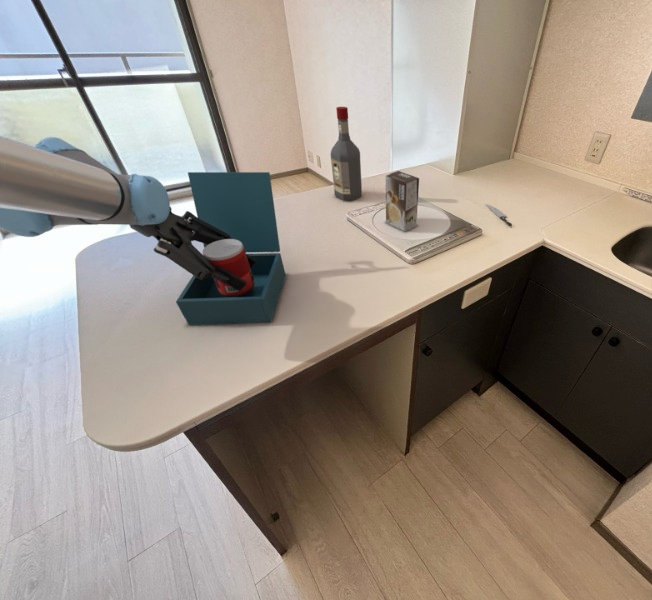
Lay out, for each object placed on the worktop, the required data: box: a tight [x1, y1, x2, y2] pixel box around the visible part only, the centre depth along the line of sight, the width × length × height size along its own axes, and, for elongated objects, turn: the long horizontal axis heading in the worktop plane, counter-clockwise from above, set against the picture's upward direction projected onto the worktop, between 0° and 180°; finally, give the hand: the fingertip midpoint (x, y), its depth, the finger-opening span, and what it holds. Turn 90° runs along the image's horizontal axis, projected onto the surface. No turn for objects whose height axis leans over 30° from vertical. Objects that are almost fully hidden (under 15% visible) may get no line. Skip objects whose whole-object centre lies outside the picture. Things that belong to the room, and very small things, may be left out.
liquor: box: [330, 106, 363, 202], centre depth 116 cm, size 9×9×30 cm
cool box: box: [175, 252, 287, 326], centre depth 77 cm, size 18×18×7 cm
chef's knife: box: [485, 203, 513, 227], centre depth 117 cm, size 19×1×3 cm
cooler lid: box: [187, 171, 281, 254], centre depth 79 cm, size 19×18×5 cm
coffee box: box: [385, 170, 420, 232], centre depth 105 cm, size 9×6×16 cm
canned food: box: [202, 239, 254, 297], centre depth 73 cm, size 8×8×11 cm
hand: (248, 275), depth 75 cm, fingers closed on canned food, 8 cm apart
